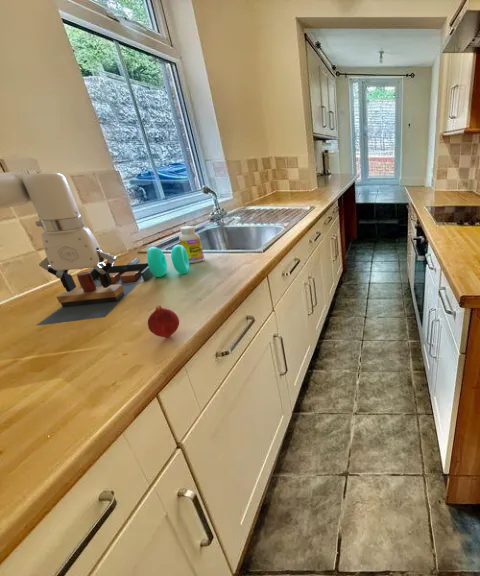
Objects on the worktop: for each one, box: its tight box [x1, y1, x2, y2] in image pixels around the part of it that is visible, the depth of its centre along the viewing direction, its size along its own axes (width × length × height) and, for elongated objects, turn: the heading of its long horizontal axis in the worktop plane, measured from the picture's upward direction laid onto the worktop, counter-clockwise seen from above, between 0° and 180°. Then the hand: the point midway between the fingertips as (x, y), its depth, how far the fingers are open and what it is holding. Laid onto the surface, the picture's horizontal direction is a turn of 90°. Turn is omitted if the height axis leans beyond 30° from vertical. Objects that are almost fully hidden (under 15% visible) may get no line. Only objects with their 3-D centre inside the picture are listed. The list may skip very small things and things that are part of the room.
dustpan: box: [77, 257, 153, 288], centre depth 108 cm, size 20×17×3 cm
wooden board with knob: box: [56, 271, 124, 307], centre depth 87 cm, size 13×5×8 cm, turn 106°
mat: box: [36, 282, 141, 326], centre depth 89 cm, size 14×24×1 cm, turn 17°
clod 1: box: [99, 273, 120, 284], centre depth 102 cm, size 4×4×2 cm
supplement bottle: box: [178, 225, 205, 264], centre depth 119 cm, size 7×7×13 cm
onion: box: [147, 304, 180, 338], centre depth 71 cm, size 6×6×8 cm
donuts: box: [146, 244, 190, 278], centre depth 106 cm, size 10×10×10 cm
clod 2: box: [120, 271, 141, 282], centre depth 103 cm, size 4×4×2 cm
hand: (89, 287), depth 88 cm, fingers open, 7 cm apart
